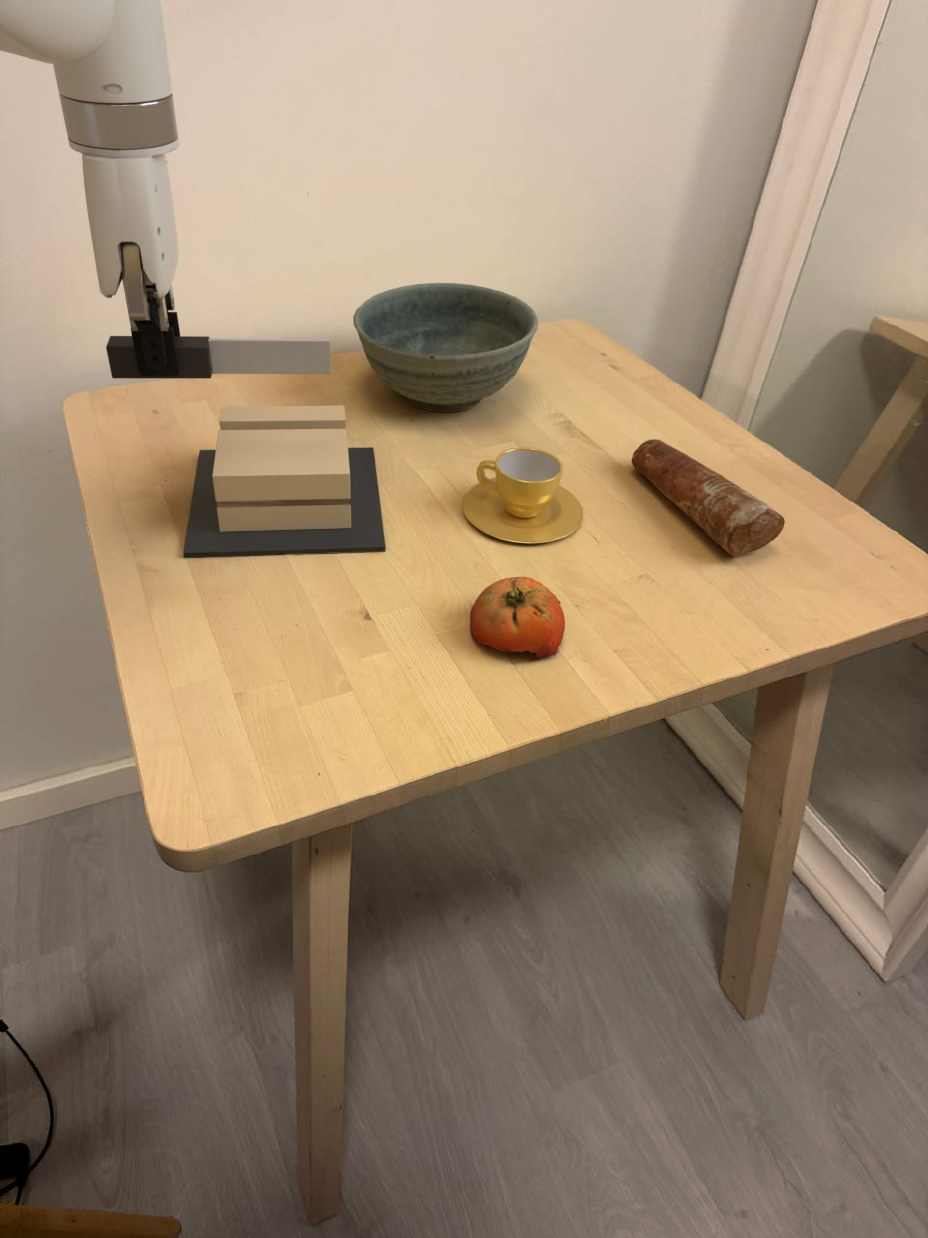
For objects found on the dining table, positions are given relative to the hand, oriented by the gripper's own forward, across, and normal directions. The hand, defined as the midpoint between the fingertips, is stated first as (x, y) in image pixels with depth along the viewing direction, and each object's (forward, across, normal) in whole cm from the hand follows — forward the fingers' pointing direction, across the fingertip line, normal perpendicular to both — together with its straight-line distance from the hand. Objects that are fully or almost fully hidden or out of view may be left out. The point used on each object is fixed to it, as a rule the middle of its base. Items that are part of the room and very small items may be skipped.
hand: (161, 364), depth 76 cm
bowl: (+15, -24, +27) cm, 40 cm away
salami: (+15, +1, +49) cm, 52 cm away
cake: (+15, -2, +9) cm, 18 cm away
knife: (+1, 0, +5) cm, 5 cm away
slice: (+15, -8, +9) cm, 19 cm away
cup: (+15, 0, +32) cm, 36 cm away
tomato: (+15, +18, +28) cm, 37 cm away
